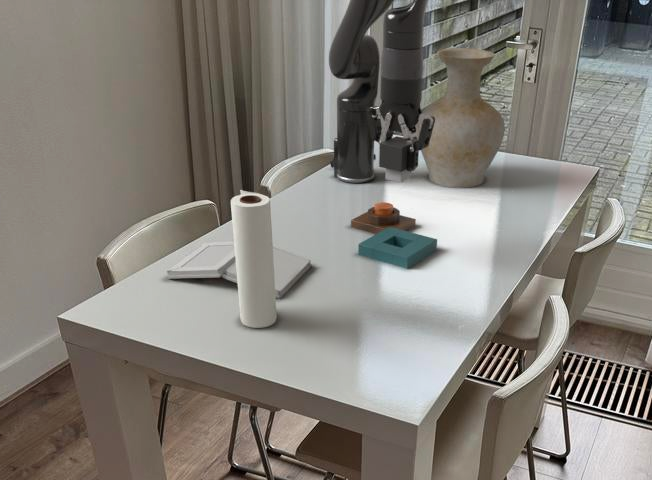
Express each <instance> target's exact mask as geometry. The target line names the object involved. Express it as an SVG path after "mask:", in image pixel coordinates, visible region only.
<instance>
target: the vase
mask: <svg viewBox="0 0 652 480" xmlns="http://www.w3.org/2000/svg"><path fill="white" fill-rule="evenodd" d="M436 53H437V56H438V59H439V60H440V62H441V63H443V64H444V65H445V67H446V70H447V82H446V88H445V92H444V94H443V96H442V97H440V98H439V99H437V100H434V101H433V102H431V103H430V104H428V105H427V106H425V108H423V109H421V111H422V114H424V115H426V116H428V117H431V116H434V117H435V123H434V127H433V131H432V135H431V138H430V142H429V146H428V147H427V148H424V149H422V150H420V152H421V156H422V158H423V160H424V162H425V165H426V168H427V170H428V179H429V181H430V182H432V183H433V184H435V185H438V186H442V187H446V188H458V189H459V188H460V189H462V188H463V189H464V188H465V189H466V188H473V187H477V186H479V185H481V184H483V182H484V180H485V176H486V173H487V171H488V169H489V167H490V166H491V164H492V163H493V161H494V159H495V157H496V155H498V152H499V150H500V147H502V143H503V139H504V136H505V129H506V126H505V125H506V124H505V121H504V118H503V116H502V114H501V113H500V111H498V109H496V108H495V107H494V106H493V105H492V104H490V103H488V102H487V101H485V100H484V99H483V98H482V95H481V78H482V73H483V70H484V68H485V67H486V66H488V65H489V64H490V63H491V62H492V60H493V59H494V57H495V56H496V55H495V53H494V52H492V51H490V50H487V49H486V50H485V49H478V48H470V47H469V48H468V47H453V48H443V49H439V50H437V51H436ZM416 125H417V129H418V133H419V134H420V131H421V127H420V121H418V123H417V124H416ZM418 138H419V135H418Z"/></svg>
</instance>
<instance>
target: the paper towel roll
mask: <svg viewBox="0 0 652 480" xmlns="http://www.w3.org/2000/svg"><path fill="white" fill-rule="evenodd" d="M239 191H240V194H237V195H235V196H233V197H232V198H231V199H230V208H231V209H230V210H231V211H230V212H231V222H232V235H233V242H234V247H235V259H236V271H237V283H236V284H237V293H238V305H239V315H240V321H241V323H242V325H244V326H246V327H249V328H252V329H261V328H262V329H263V328H267V327H270V326H272V325H274V324H275V323H276V321H277V318H278V317H277V301H276V299H277V298H276V297H275V279H274V261H273V247H274V246H273V245H274V244H273V243H274V242H273V228H272V209H271V199H270V198H269V196H267V195H264V194H262V193H258V192H253V191H246V190H243V189H240V190H239Z"/></svg>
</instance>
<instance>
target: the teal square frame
mask: <svg viewBox="0 0 652 480" xmlns="http://www.w3.org/2000/svg"><path fill="white" fill-rule="evenodd" d="M357 246H358V247H357V248H358V249H357V250H358V256H361V257H364V258H367V259H371V260H375V261H378V262H382V263H385V264H388V265H392V266H394V267H395V266H396V267H399V268H402V269H405V270H408V269H410V268H411V267H413V266H414V265H416V264H417V263H419V262H421V261H422V260H424V259H425V258H426V257H428V256H430V255H431V254H433V253H434V252H436V251H437V249H438V238H434V237H430V236H426V235H423V234H420V233H415V232H412V231H409V230H408V231H403V230H400V229H396V228H392V227H388V228H386V229H385V230H383V231H381V232H379V233H377V234H373V235H372V236H370V237H369V238H367V239H365V240H362V241H361V242H359V243H358V245H357Z"/></svg>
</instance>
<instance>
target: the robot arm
mask: <svg viewBox="0 0 652 480" xmlns="http://www.w3.org/2000/svg"><path fill="white" fill-rule="evenodd" d="M395 1H396V0H349V2H348V5H347V8H346V10H345V12H344V15H343V18H342V19H341V21H340V24H339V26H338V27H337V30H336V32H335V34H334V37H333V39H332V42H331V45H330V47H329V52H328V65H329V70H330V73H331V74H332V76H333V77H335V78H336V79H339V80H353V81H352V82H351V84H350V85H349V86H348V87H347V88H346V89H344V90H342V91H341V92H339V94H338V95H337V96H336V137H335V138H334V139H333V157H332V160H331V161H330V163H329V164H330V168H332V169H333V177H334V178H336V179H338V180H339V181H342V182H345V183H352V184H360V183H367V182H371V181H372V180H373V179H375V173H374V172H375V169H374V168H375V161H376V159H377V155H376V153H375V142H376V143H378V145H379V146H380V143H381V142H384V141H386V140H389V139H391V138H394V134H395V133H396V132H398V133H399V134H400V133H401V134H402V137H403V138H404V140H406V143H407V147H408V150H409V151H408V152H407V171H410V172H411V173H412V172H413V171H415V170H416V169H417V168H418V167H419V155H420V153H419V152H420V151H421V150H422V149H424V148H427V147H428V146H429V142H430V138H431V135H432V131H433V127H434V123H435V117H434V116H431V117H428V116H426V115H424V114H422V107H421V103H422V95H423V77H424V76H423V75H424V51H423V49H424V48H423V45H424V26H425V18H426V17H425V15H426V11H427V7H428V2H429V0H412V1H411V2H410V3H409V4H407V5H404V6H398V7H393V8H391V6H392V5H393V4H394V2H395ZM382 16H383V21H382V51H381V54H380V48H379V45H378V42H377V41H376V39H375V38H374V37H373V36H372V35H370V34H366V33H367V32H368V31H369V29H371V27H373V25H374V24H375V23H376V22H377V21H378V20H379V19H380V18H381V17H382ZM380 55H381V57H380ZM379 77H380V80H379ZM379 81H380V90H379ZM379 91H380V96H379V97H380V100H381V102H380V104H379V106H377V105H376V101H377V98H378V95H379V94H378V93H379ZM381 118H382V119H383V121H384V122H383V125H382V120H381ZM418 121H420V127H421V131H420V134H419V133H418V129H417V125H416V124H417V123H418ZM418 135H419V138H418Z"/></svg>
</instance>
